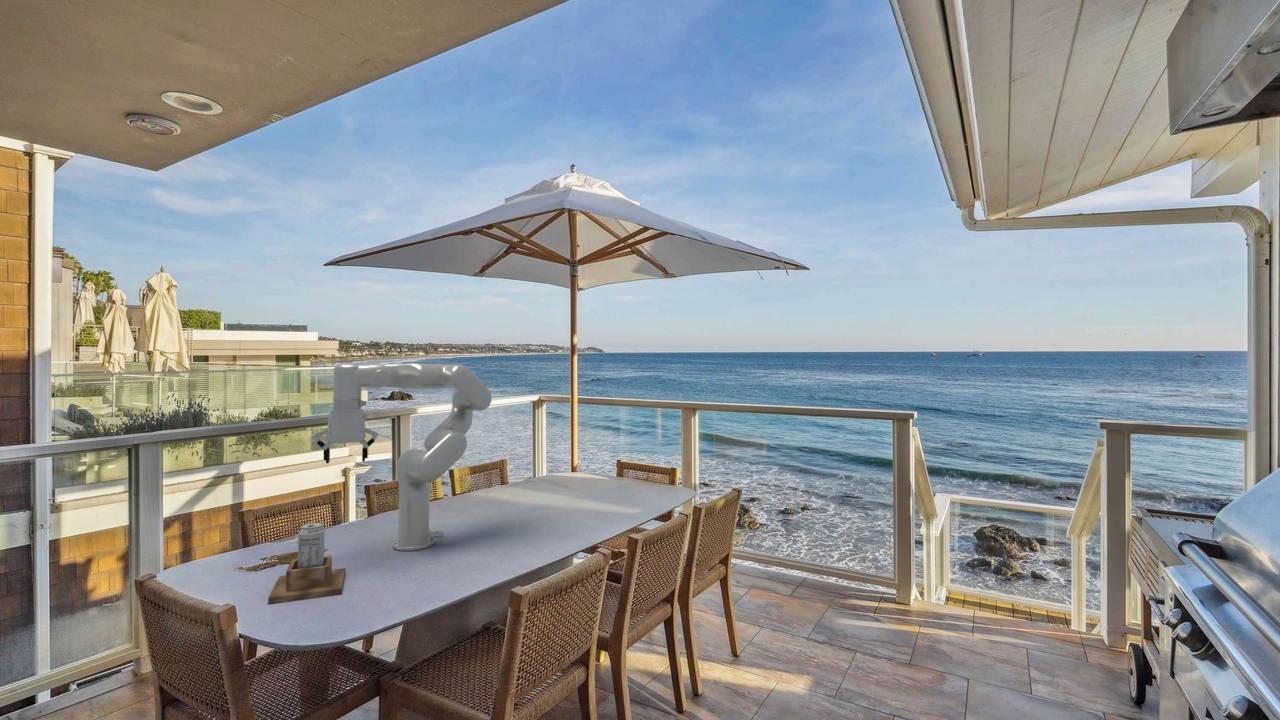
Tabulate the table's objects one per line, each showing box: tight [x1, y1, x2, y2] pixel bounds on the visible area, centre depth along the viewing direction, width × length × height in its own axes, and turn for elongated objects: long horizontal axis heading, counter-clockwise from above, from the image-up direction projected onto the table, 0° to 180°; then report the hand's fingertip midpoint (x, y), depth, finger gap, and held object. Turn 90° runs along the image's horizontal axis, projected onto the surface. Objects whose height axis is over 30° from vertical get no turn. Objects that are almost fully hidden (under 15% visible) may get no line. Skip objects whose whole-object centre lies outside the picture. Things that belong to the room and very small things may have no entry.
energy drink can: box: [297, 522, 326, 569], centre depth 149 cm, size 6×6×15 cm
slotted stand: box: [267, 555, 346, 605], centre depth 149 cm, size 16×16×6 cm
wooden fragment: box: [233, 548, 329, 572], centre depth 170 cm, size 26×11×1 cm, turn 138°
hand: (345, 461), depth 169 cm, fingers open, 9 cm apart
